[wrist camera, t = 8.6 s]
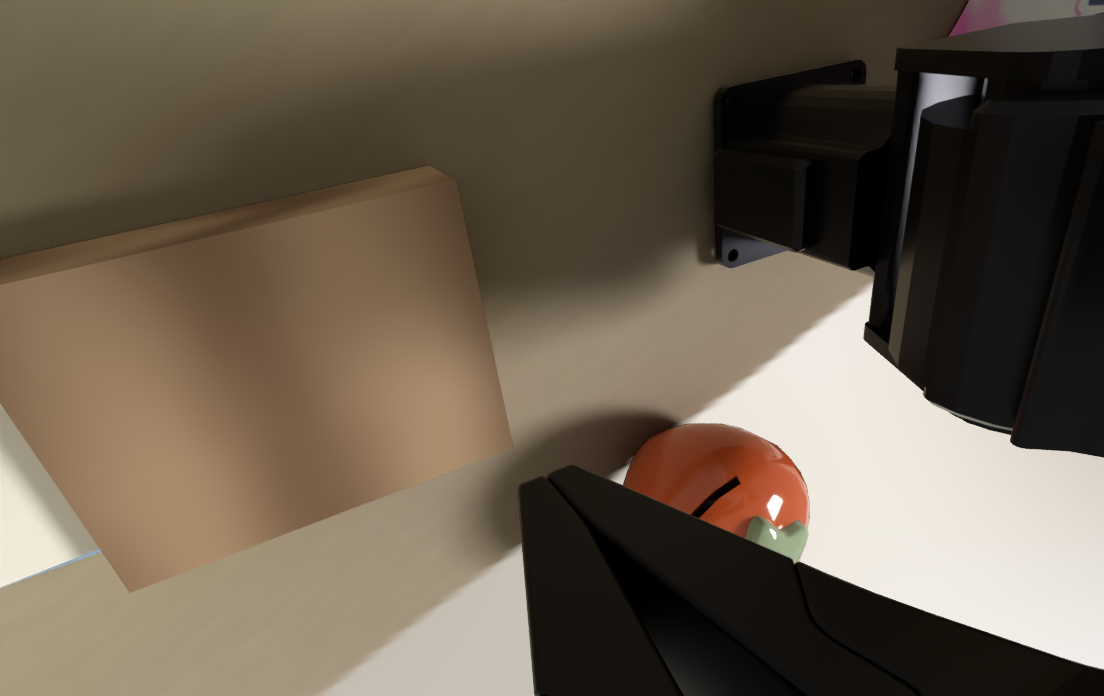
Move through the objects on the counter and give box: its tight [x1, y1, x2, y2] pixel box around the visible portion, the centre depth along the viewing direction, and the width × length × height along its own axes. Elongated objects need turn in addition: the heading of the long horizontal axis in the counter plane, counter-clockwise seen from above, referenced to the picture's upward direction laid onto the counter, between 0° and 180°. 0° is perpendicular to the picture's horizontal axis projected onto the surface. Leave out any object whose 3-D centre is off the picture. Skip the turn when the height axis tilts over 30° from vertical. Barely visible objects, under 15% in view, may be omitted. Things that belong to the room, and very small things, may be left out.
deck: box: [0, 165, 513, 592], centre depth 17 cm, size 11×8×3 cm
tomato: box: [623, 423, 810, 564], centre depth 23 cm, size 7×7×8 cm
